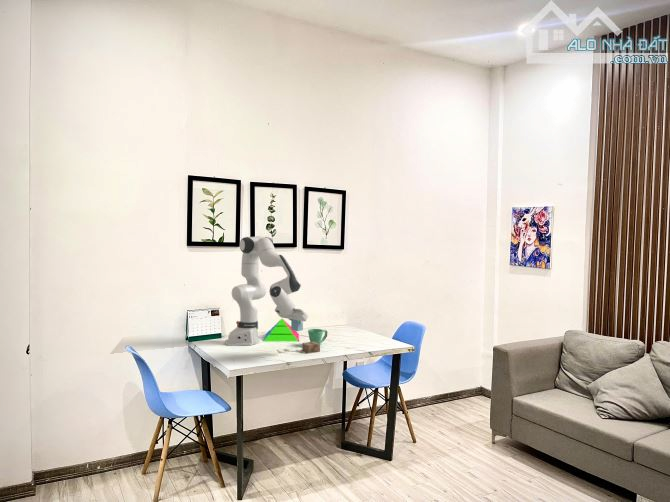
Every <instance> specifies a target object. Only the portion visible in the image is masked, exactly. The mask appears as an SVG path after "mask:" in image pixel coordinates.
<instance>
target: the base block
mask: <svg viewBox="0 0 670 502" xmlns="http://www.w3.org/2000/svg"><path fill="white" fill-rule="evenodd" d="M301 345H302V348H301V350H302V351H303V352H305V353H307V354H314V353H315V354H316V353H320V352H321V343H320V344H318V343H316V342H310V341H308V342H307V341H306V342H302V344H301Z"/></svg>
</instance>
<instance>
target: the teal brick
mask: <svg viewBox="0 0 670 502" xmlns="http://www.w3.org/2000/svg"><path fill="white" fill-rule="evenodd" d="M290 321H291V323H290V324H291V325H290V326H291V330H293V331H296V332H300V331H301V332H302V331H303V330H304V323H303V324H301V323H300V322H299V320H294V319H291V320H290Z"/></svg>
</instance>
